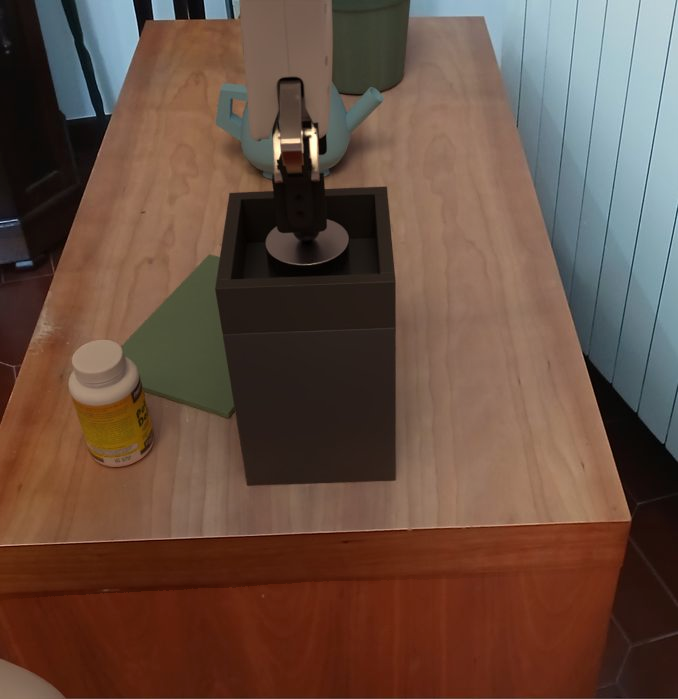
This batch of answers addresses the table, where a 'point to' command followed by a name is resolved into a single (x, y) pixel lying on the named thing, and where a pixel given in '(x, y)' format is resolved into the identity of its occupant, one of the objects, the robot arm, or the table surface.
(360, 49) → the flower pot
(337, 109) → the teapot
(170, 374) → the green mat
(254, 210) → the black box
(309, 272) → the meat pounder
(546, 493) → the table surface
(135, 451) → the supplement bottle
